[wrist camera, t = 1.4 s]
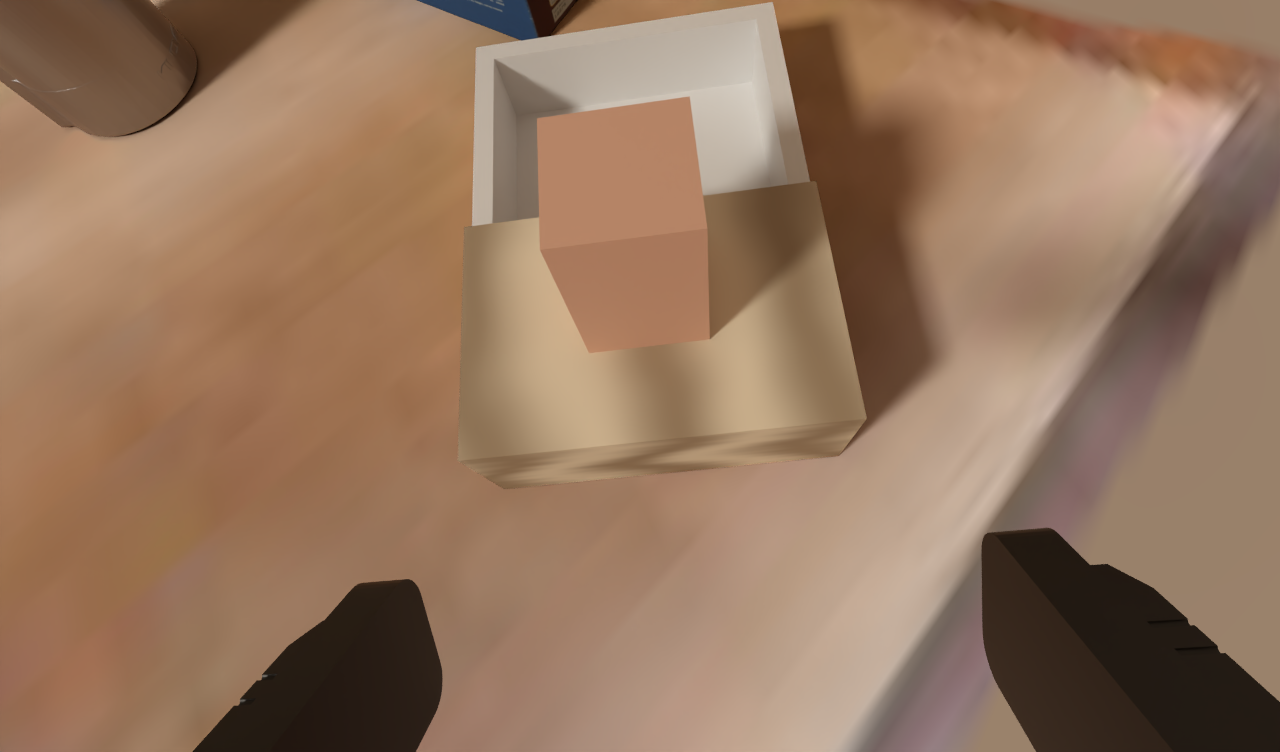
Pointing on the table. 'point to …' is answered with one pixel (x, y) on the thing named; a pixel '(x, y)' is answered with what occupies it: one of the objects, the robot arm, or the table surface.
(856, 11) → the table surface
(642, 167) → the block
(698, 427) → the beige box sleeve
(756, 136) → the white inner box tray
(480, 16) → the protein box
